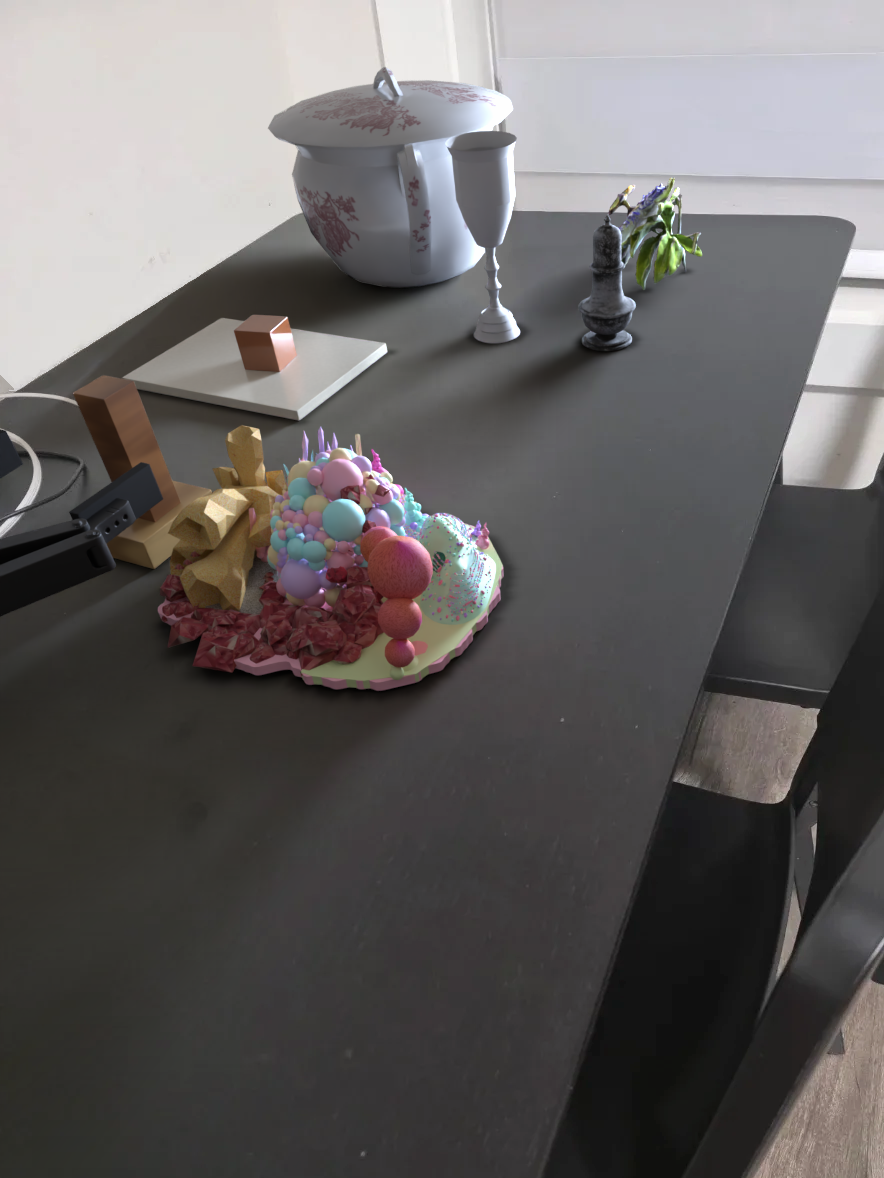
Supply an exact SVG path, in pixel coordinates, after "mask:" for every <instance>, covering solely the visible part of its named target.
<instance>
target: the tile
mask: <svg viewBox="0 0 884 1178" xmlns="http://www.w3.org/2000/svg"><path fill="white" fill-rule="evenodd" d="M244 321H245V320H239V319H232V318H227V317H220V318H218V319H217V320H215V321H214V322H213V323H210V324H209V325H207V326H206V327H204V328H202V329H200V330H199V331H197V332H196V333H194V334H192V335H190V336H189V337H187V338H185V339H184V340H182V341H181V342H179V343H177V344H176V345H174V346H172V347H170V348H169V349H167V350H166V351H164V352H163V353H161V354H158V355H157V356H155V357H154V358H152V359H151V360H148V361H147V362H146V363H144V364H142V365H140V366H139V367H137V368H135V369H133V370H132V371H131V372H129V373H127V374H125V375H124V376H122V377H121V379H125V380H131V381H134V383H135V385H136V388H137V390H140V391H146V392H151V393H156V394H160V395H161V394H162V395H166V396H171V397H177V398H181V399H187V400H192V401H197V402H202V403H206V404H213V405H218V406H223V407H227V408H232V409H238V410H243V411H248V412H253V413H258V414H263V415H269V416H274V417H277V418H278V417H279V418H285V419H289V420H295V421H301V420H303V418H305V417H306V416H308V415H309V414H310V413H311V412H312V411H314V410H315V409H316V408H318V407H319V406H321V404H323V403H324V402H326V401H327V400H328V399H329V398H331V397H332V396H333V395H334V394H336V393H337V392H338V391H340V390H341V389H342V388H344V387H345V386H346V385H347V384H348V383H350V382H351V381H353V379H355V378H356V377H358V376H359V375H360V374H362V372H365V370H366V369H368V368H370V366H372V365H373V364H374V363H376V362H377V361H378V360H380V359H381V358H382V357H383V356H384V355H386V354H387V353H388V348H387V346H388V345H387V343H386V342H381V341H374V340H370V339H369V340H368V339H361V338H354V337H350V336H349V337H348V336H347V337H346V336H342V335H336V334H330V333H323V332H316V331H309V330H303V329H297V328H291V327H290V329H291V333H292V337H293V341H294V345H295V349H296V353H297V356H296V357H295V358H294V359H293V360H292V361H291V362H290V363H289V364H288V365H287V366H286V367H285V368H284V369H283V370H282V371H281V372H271V371H257V370H245V368H244V364H243V361H242V358H241V354H240V351H239V347H238V344H237V340H236V337H235V334H234V330H235V329H236V328H237V327H238V326H240V325H241V324H242V323H243V322H244Z"/></svg>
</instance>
